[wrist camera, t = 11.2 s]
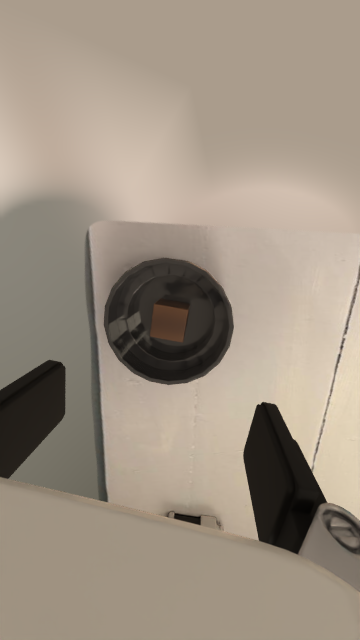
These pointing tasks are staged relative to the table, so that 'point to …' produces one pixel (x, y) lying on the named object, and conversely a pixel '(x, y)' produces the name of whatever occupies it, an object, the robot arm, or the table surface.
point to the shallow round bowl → (136, 317)
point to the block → (169, 320)
